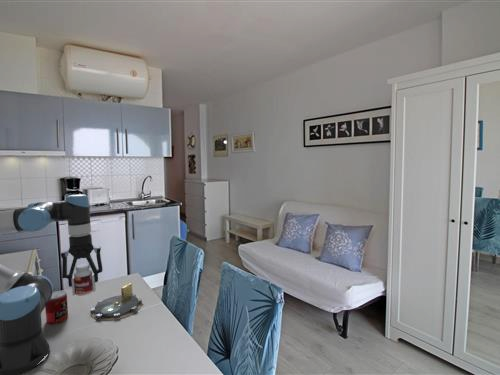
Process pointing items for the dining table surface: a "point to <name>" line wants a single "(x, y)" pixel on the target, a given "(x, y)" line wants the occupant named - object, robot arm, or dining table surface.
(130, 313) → the base
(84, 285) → the pill bottle
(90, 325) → the dining table surface
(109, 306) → the sprocket
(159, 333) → the dining table surface
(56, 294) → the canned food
